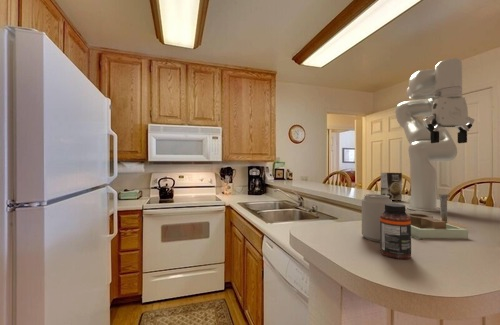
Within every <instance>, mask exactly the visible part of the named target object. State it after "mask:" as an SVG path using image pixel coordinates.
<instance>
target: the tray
mask: <svg viewBox="0 0 500 325" xmlns="http://www.w3.org/2000/svg"><path fill="white" fill-rule="evenodd" d="M411 238H414V239H417V240H418V241H423V239H451V240H452V239H458V240H459V239H460V240H461V239H464V240H465V239H466V240H467V239H469V229H468V228H460V227H457V226H453V225H450V224H447V223H446V229H420V228H418V227H415V226H412V225H411Z"/></svg>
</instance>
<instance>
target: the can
mask: <svg viewBox="0 0 500 325" xmlns="http://www.w3.org/2000/svg"><path fill="white" fill-rule="evenodd" d="M389 197H390V196H387V195H381V194H377V193H374V194H373V193H372V194H371V193H367V194H364V197H363V198H362V199H361V235H362V236H363V237H364V238H365V239H366V240H368V241H372V242H379V243H380V215H381V214H382V213H384V211H385V204H387V203H393V201H391V200H390V199H389Z"/></svg>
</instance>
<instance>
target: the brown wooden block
mask: <svg viewBox="0 0 500 325" xmlns="http://www.w3.org/2000/svg"><path fill="white" fill-rule="evenodd" d="M406 214H407V215H408V216H410V218H411V225H412V226H415V227H418V228H420V229H446V222H444V221H441V220H440V219H439V218H438V219H437V218H434V216H433V215H429V214H427V213H426V214H424V213H418V212H417V213H416V212H415V213H414V212H409V213H408V212H406Z"/></svg>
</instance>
